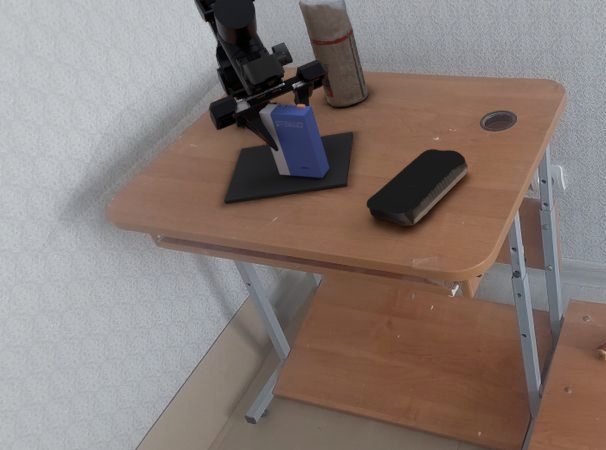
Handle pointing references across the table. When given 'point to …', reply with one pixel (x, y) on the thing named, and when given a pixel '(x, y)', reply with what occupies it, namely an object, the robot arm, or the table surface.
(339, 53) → the beige cylindrical container
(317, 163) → the walkman
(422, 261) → the table surface
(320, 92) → the table surface
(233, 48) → the robot arm
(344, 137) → the mat
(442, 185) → the black sponge
